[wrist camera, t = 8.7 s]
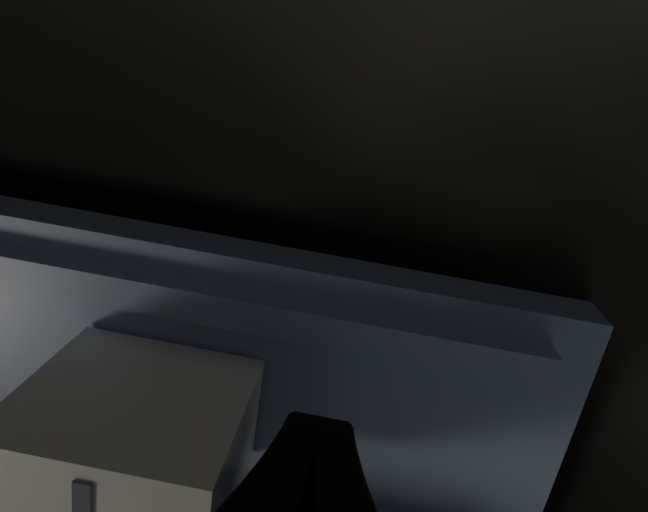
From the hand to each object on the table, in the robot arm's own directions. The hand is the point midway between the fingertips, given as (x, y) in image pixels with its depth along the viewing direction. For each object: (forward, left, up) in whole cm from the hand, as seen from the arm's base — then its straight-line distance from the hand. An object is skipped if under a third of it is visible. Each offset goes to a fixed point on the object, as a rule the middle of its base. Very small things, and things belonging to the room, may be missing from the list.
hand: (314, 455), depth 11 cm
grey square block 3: (0, +3, -1) cm, 4 cm away
